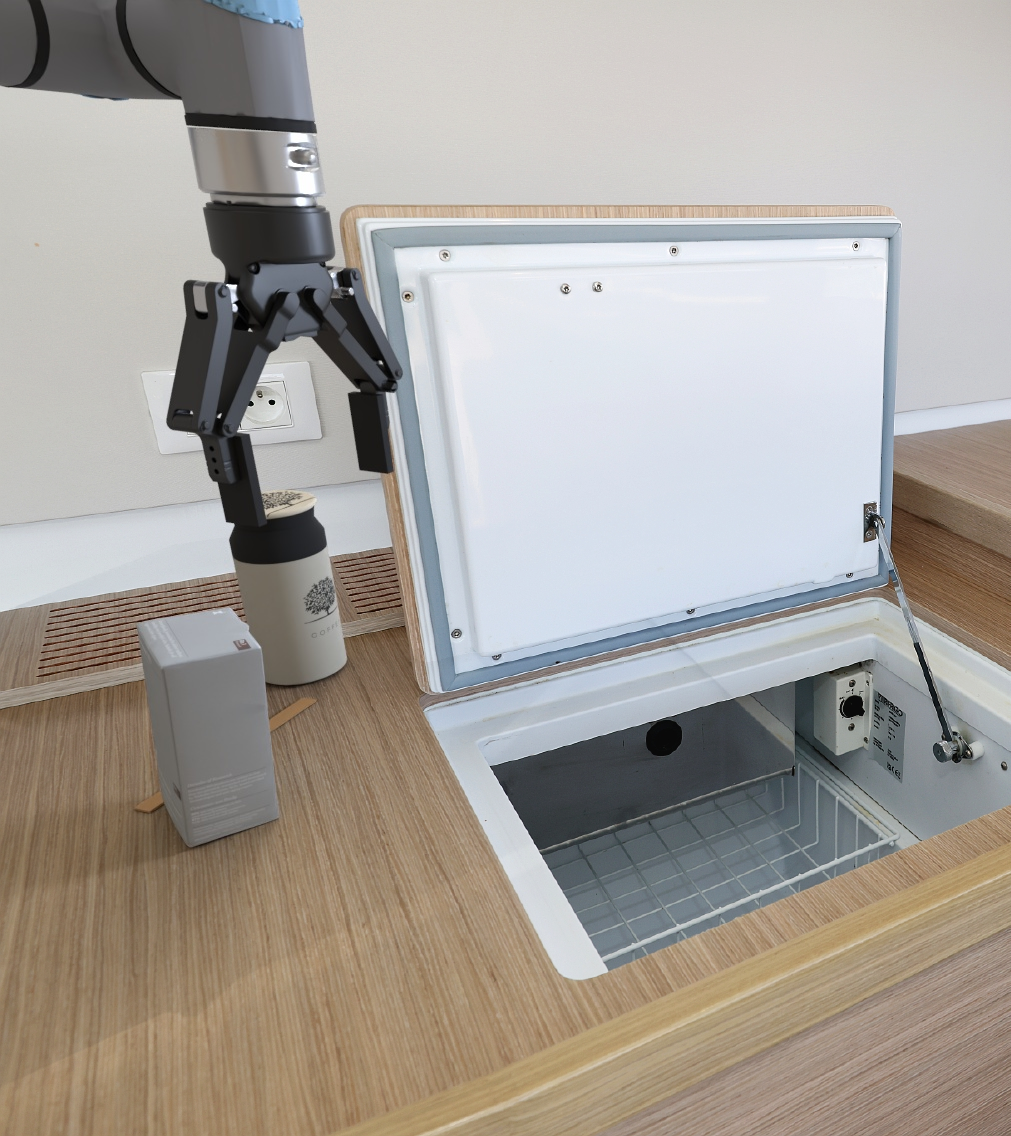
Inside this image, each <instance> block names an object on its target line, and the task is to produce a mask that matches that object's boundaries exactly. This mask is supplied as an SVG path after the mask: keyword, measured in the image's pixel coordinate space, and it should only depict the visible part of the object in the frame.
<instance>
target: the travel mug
mask: <svg viewBox="0 0 1011 1136" xmlns="http://www.w3.org/2000/svg"><path fill="white" fill-rule="evenodd" d="M261 495H262V500H263V505H264V510H265V515H266V520H267V524H265V525H263V526H260V527H255V526H248V525H241V524H234V523H233V528H232V531H231V533H230V536H229V538H228V542H229V547H230V551H231V556H232V561H233V566H234V570H235V575H236V578H237V579H236V580H237V584H238V589H239V593H240V598H241V602H242V607H243V613H244V618H245V621H246V622H245V623H246V624H248V626H249V630H248V631H249V633H250V634H251V635H252V636H253V638H254V639H255V640H256V642H257V643H258V644H259V645H260V647H261V650H262V657H263V666H264V676H265V683H268V684H271V685H279V686H296V685H297V686H298V685H299V686H300V685H306V684H311V683H314V682H317V681H320V680H323V679H325V678H328V677H329V676H331V675H333V674H335V673H337V672H338V671H340V670H341V669H342V668H343V667H344V666H345V665H346V663H347V661H348V657H347V651H346V646H345V645H346V644H345V640H344V634H343V633H344V632H343V627H342V622H341V616H340V611H339V604H338V599H337V593H336V587H335V582H334V581H335V580H334V575H333V570H332V564H331V558H330V552H329V546H328V541H327V535H326V529H325V527H324V525H323V524H322V523H321V522H320V521H319V520H318V518H317V517H316V516H315V505H316V504H317V501H318V499H317V496H315V495H314V494H312V493H310V492H307V491H304V490H303V491H301V490H296V489H277V490H275V489H274V490H268V491H266V490H265V491H261Z"/></svg>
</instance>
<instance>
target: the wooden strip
mask: <svg viewBox="0 0 1011 1136" xmlns="http://www.w3.org/2000/svg"><path fill="white" fill-rule="evenodd" d="M317 702H318V701H317V699H315V698H308V697H301V698H300V699H298V700H297V701H295V702H294V703H292V704H290V705H289V706H287V707H286V708H285V709H283V710H282V711H280V712H278V713H277V714H276V715H274V716H272V717H270V719H269V727H270V734H271V733H273V732H274V731H275V730H276V729H278V728H280V727H281V726H283V725H284V724H285V723H287V722H289V721H290V720H291V719H293V718H294V717H296V716H297V715H299V714H301V713H302V712H304V711H305V710H306V709H308V708H310V707H311V706H312V705H315V703H317ZM164 805H165V804H164V801H163V799H162V796H161V790H159V791H158V792H156V793H155V794H153V795H152V796H150V797H148V798H147V799H145V800H144V801H142V802H140V803H138V805H136V806H135V807H134V808H133V809H134V811H137V812H143V813H146V814H152V813H154V812H155V811H156V810H158V809H159V808H160V807H162V806H164Z"/></svg>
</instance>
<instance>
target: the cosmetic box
mask: <svg viewBox="0 0 1011 1136" xmlns="http://www.w3.org/2000/svg"><path fill="white" fill-rule="evenodd" d="M135 628H136V632H137V637H138V644H139V651H140V658H141V664H142V670H143V678H144V684H145V685H144V686H145V691H146V697H147V703H148V711H149V719H150V725H151V732H152V736H153V737H152V739H153V745H154V750H155V752H154V753H155V759H156V764H157V765H156V766H157V772H158V778H159V780H158V781H159V789H160V791H161V796H162V799H163V801H164V804H163V805H164V806H165V808H166V811H167V813H168V815H169V817H170V819H171V821H172V823H173V825H174V827H175V829H176V831H177V833H178V834H179V836H180V837H181V838H182V840H183V842H184V843H185V845H186V846H187V847H188V848H194V847H196V846H199V845H202V844H206V843H208V842H212V841H214V840H217V839H220V838H223V837H226V836H229V835H233V834H236V833H239V832H241V831H246V830H249V829H251V828H254V827H258V826H261V825H263V824H266V823H269V822H272V821H276V820H277V819H279V818H280V813H279V804H278V795H277V786H276V777H275V768H274V758H273V749H272V748H273V747H272V737H271V733H270V727H269V710H268V697H267V690H266V689H267V687H266V682H265V676H264V666H263V657H262V650H261V647H260V645H259V644H258V643H257V642H256V640H255V639H254V638H253V636H252V635H251V634H250V633H249V631H248V630H249V626H248V624H247V622H245V621H242V620H241V619H240V617H239V616H238V615H237V613H236V612H235V611H234V610H233V609H232V608H231V607H229V606H227V607H223V608H217V609H212V610H211V609H210V610H205V611H198V612H194V613H193V612H192V613H186V614H181V615H180V614H179V615H174V616H166V617H161V618H160V617H159V618H155V619H150V620H144V621H142V622H137V623H136V624H135Z"/></svg>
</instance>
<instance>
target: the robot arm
mask: <svg viewBox="0 0 1011 1136" xmlns="http://www.w3.org/2000/svg"><path fill="white" fill-rule="evenodd" d="M304 25H305V23H304V17H303V16H302V14H301V10H300V5H299V1H298V0H0V87H4V88H11V89H23V90H24V89H25V90H32V91H33V90H34V91H42V92H43V91H44V92H53V93H55V92H56V93H65V94H73V95H78V96H82V97H85V98H90V99H97V100H99V99H101V100H106V99H107V100H110V101H114V102H120V101H122V102H123V101H129V100H155V101H157V100H158V101H159V100H162V101H163V100H165V101H167V100H169V101H175V100H176V101H182V105H183V109H184V116H183V117H184V121H185V125H186V126H187V127H186V128H187V135H188V139H189V145H190V150H191V151H190V152H191V156H192V161H193V166H194V171H195V172H194V173H195V176H196V182H197V183H196V184H197V189H199V190H200V192H202V193H205V194H209V198H210V201H207V202H205V206H202V212H203V216H204V221H205V222H204V223H205V227H206V231H207V236H208V242H209V247H210V252H211V254H212V255H213V256H214V257H215V258H216V259H218V260H219V261H220V262H221V263H222V265H223V267H224V281H223V282H221V281H212V280H211V281H210V280H198V279H187V280H185V281H184V283H183V285H182V286H183V287H182V290H183V292H182V293H183V297H184V298H183V299H184V308H185V320H184V325H183V331H182V334H181V335H182V336H181V341H180V346H179V352H178V356H177V361H176V366H175V372H174V377H173V381H172V382H173V383H172V388H171V393H170V398H169V401H168V402H169V404H168V408H167V414H166V419H165V422H166V427H167V428H168V429H169V430H171V431H176V432H181V433H182V432H184V433H191V434H195V435H196V436H198V437H199V439H200V441H201V446H202V450H203V455H204V459H205V463H206V469H207V473H208V476H209V478H210V480H211V482H214V483H217V487H218V491H219V497H220V501H221V506H222V509H223V510H222V511H223V515H224V519H225V523H229V524H233V525H234V524H241V525H248V526H255V527H260V526H263V525H265V524H267V520H266V515H265V510H264V505H263V500H262V495H261V492H262V491H261V490H262V489H261V484H260V480H259V475H258V469H257V464H256V460H255V455H254V449H253V445H252V440H251V434H250V433H244V432H238V431H239V429H240V426H241V423H242V421H243V419H244V417H245V414H246V412H247V409H248V407H249V404H250V403H251V399H252V397H253V395H254V393H255V390H256V388H257V385H258V383H259V380H260V379H261V375H262V373H263V371H264V369H265V366H266V363H267V361H268V360H269V356H270V355H271V353H273V352H275V351H277V350H278V349H279V347H280V345H281V343H282V342H283V343H287V342H292V341H296V340H297V339H299V338H300V337H304V338H311V339H312V340H313V341H314V343H315V344H317V346H318V347H319V348H320V349H321V351H323V353H325V355H326V356H327V358H329V359H330V360H331V362H332V363H333V364H334V365H335V366H336V367H337V368H338V369H339V370H340V372H341V373H342V374H343V375H344V376H345V378H347V379H348V381H349V382H350V383H351V384H352V385H353V386H354V388H356V389H357V390H359V391H356V390H355V391H350V392H347V397H348V406H349V411H350V412H349V413H350V418H351V424H352V425H351V426H352V432H353V438H354V445H355V452H356V459H357V463H358V470H359V471H363V472H370V473H377V474H385V475H389V474H391V473H394V472H395V469H394V463H393V455H392V454H393V453H392V447H391V441H390V435H389V434H390V433H389V429H390V423H391V422H390V416H389V408H388V400H387V393H389V394H395V393H397V391H398V388H399V383H398V381H400V380H402V379H403V376H404V371H403V368H402V366H401V363H400V362H399V359H398V358H397V355H396V353H395V352H394V349H393V348H392V345H391V344H390V341H389V339H388V337H387V336H386V334H385V331H384V329H383V327H382V325H381V324H380V322H379V320H378V317H377V316H376V314H375V311H374V309H373V307H372V305H371V303H370V301H369V300H368V298H367V295H366V294H367V293H366V289H365V285H364V280H363V275H362V272H361V270H360V269H359V268H357V267H352V266H351V267H349V266H339V265H327V264H326V263H327V262H329V261H332V260H333V259H334V258H335V257H336V247H335V241H334V234H333V226H332V220H331V213H330V210H327V208H326V207H327V206H325V205H321V204H319V203H318V198H321V197H324V196H325V194H326V193H327V192H326V186H325V180H324V175H323V174H324V173H323V168H322V162H321V154H320V148H319V143H318V135H317V134H318V130H317V124H316V123H315V122H316V118H315V112H314V104H313V97H312V90H311V83H310V75H309V68H308V60H307V53H306V52H307V51H306V45H305V44H306V43H305V36H304V35H305V34H304V27H305V26H304ZM250 330H251V331H250ZM380 362H381V363H380ZM191 412H192V413H191ZM219 415H220V417H219Z"/></svg>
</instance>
